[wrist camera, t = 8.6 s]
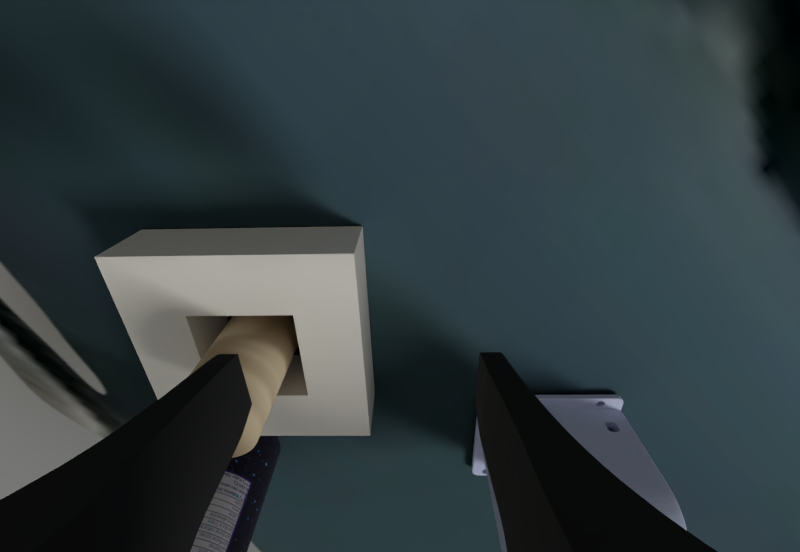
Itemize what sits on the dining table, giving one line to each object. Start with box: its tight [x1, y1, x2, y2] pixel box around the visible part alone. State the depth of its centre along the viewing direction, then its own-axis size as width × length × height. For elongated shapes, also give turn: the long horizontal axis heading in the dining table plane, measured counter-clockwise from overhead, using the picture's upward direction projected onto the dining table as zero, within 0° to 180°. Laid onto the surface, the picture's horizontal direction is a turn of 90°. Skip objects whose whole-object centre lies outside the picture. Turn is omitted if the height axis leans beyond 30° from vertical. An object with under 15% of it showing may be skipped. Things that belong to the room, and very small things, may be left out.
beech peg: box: [190, 315, 298, 458], centre depth 20 cm, size 4×4×8 cm
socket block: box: [94, 226, 375, 436], centre depth 22 cm, size 12×12×4 cm
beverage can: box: [190, 436, 280, 552], centre depth 23 cm, size 6×6×12 cm
